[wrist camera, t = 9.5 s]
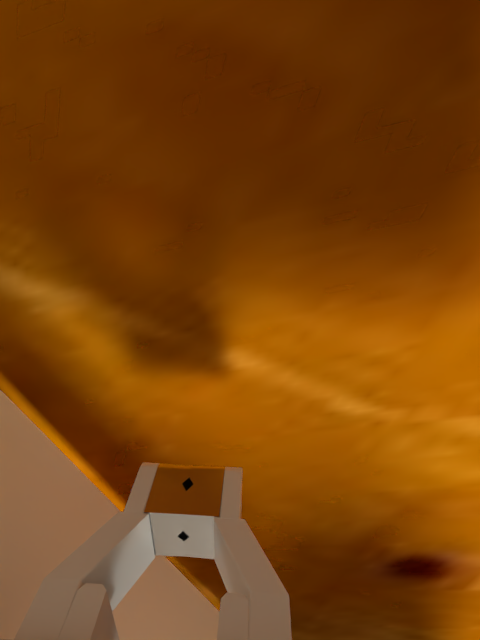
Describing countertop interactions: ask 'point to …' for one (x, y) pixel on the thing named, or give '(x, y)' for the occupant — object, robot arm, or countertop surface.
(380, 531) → the countertop surface
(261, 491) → the countertop surface
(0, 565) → the gate
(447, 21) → the countertop surface
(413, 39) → the countertop surface
